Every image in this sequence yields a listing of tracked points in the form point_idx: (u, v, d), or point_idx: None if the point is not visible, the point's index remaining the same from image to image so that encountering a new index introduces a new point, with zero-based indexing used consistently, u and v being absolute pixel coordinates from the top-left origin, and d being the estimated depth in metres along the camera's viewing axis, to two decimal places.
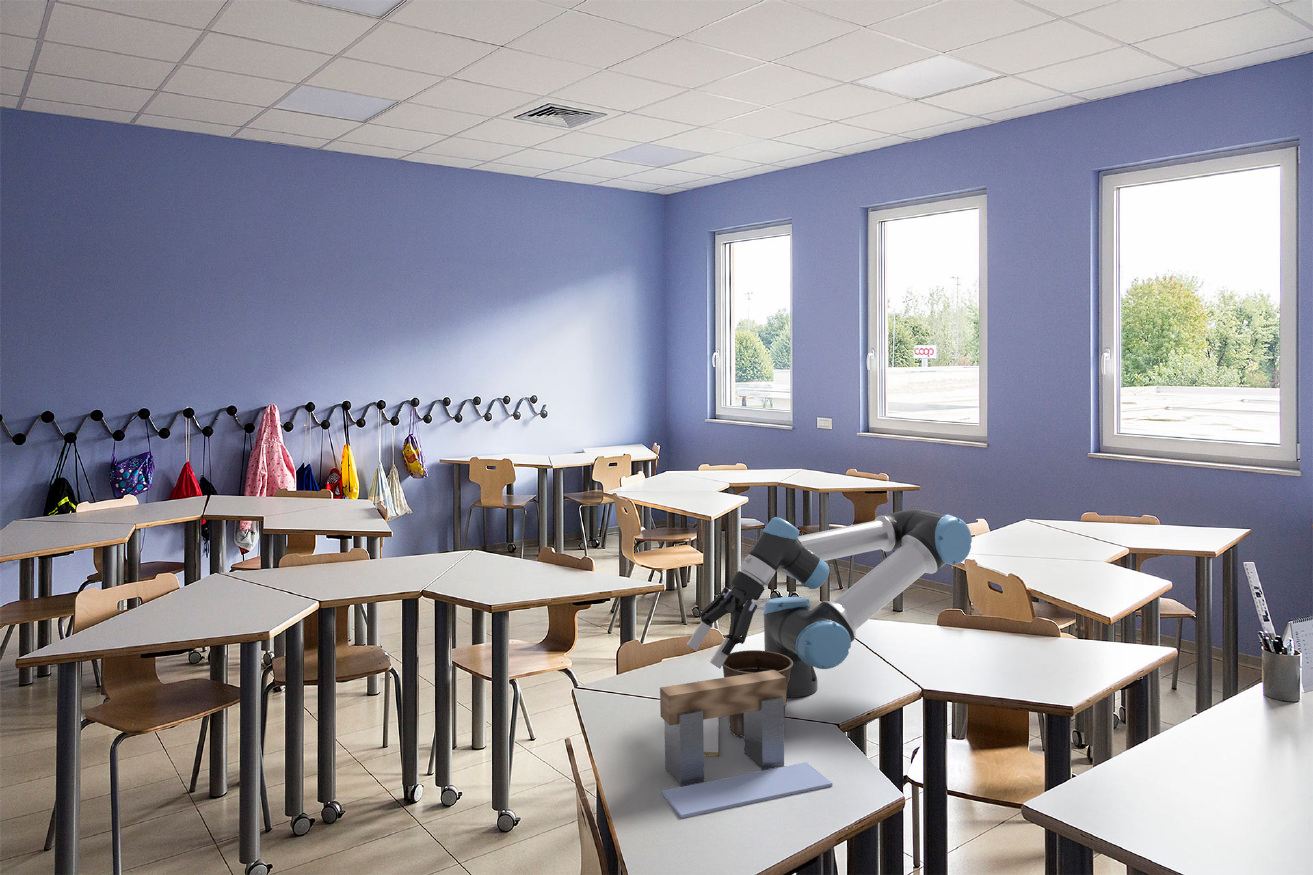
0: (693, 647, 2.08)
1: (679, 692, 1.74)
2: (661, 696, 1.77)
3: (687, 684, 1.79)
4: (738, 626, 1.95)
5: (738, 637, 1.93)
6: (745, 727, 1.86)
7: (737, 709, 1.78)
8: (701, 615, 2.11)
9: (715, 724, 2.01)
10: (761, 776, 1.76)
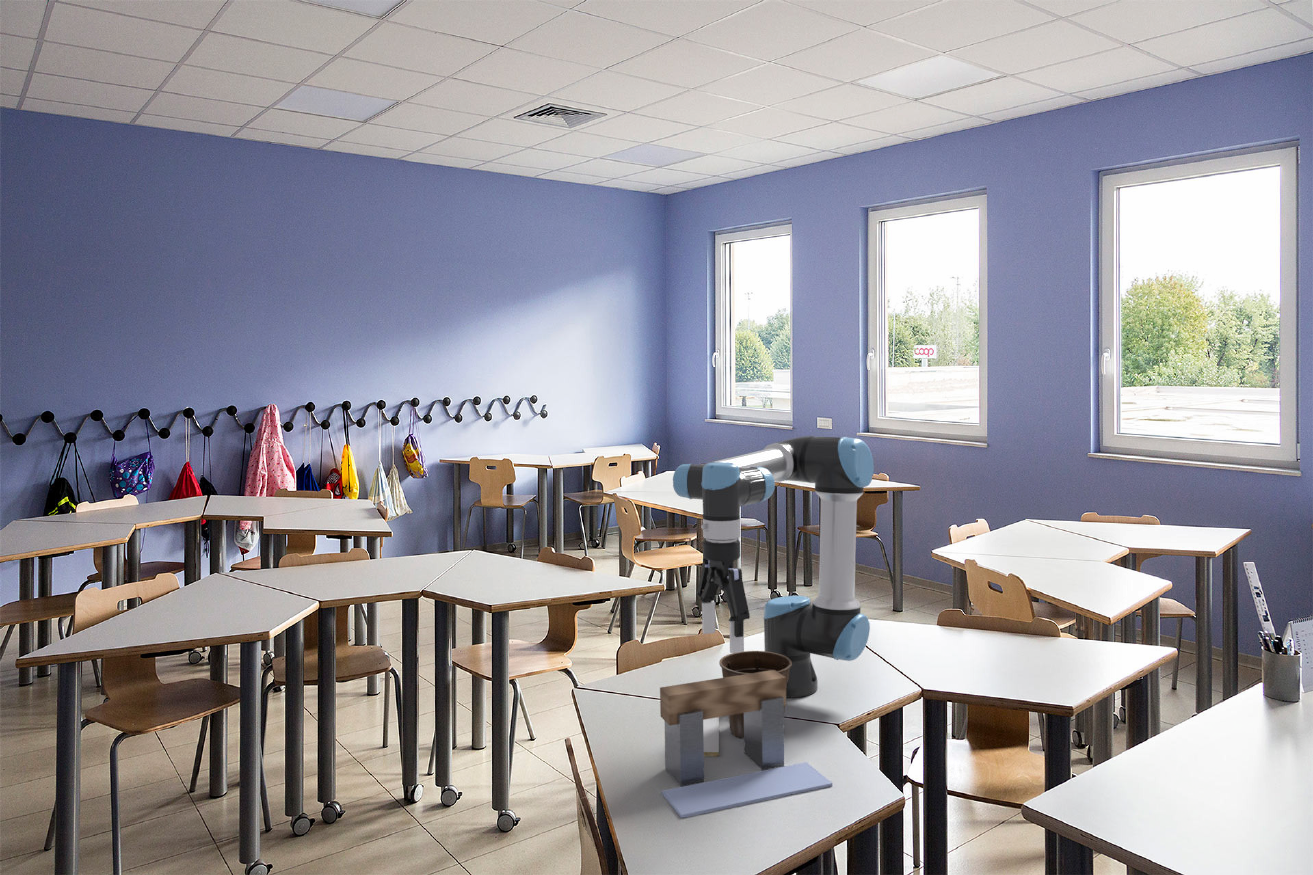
0: (710, 631, 1.85)
1: (679, 692, 1.74)
2: (661, 696, 1.77)
3: (687, 684, 1.79)
4: (734, 604, 1.70)
5: (741, 616, 1.69)
6: (745, 727, 1.86)
7: (737, 709, 1.78)
8: (699, 595, 1.86)
9: (716, 724, 2.00)
10: (761, 776, 1.76)
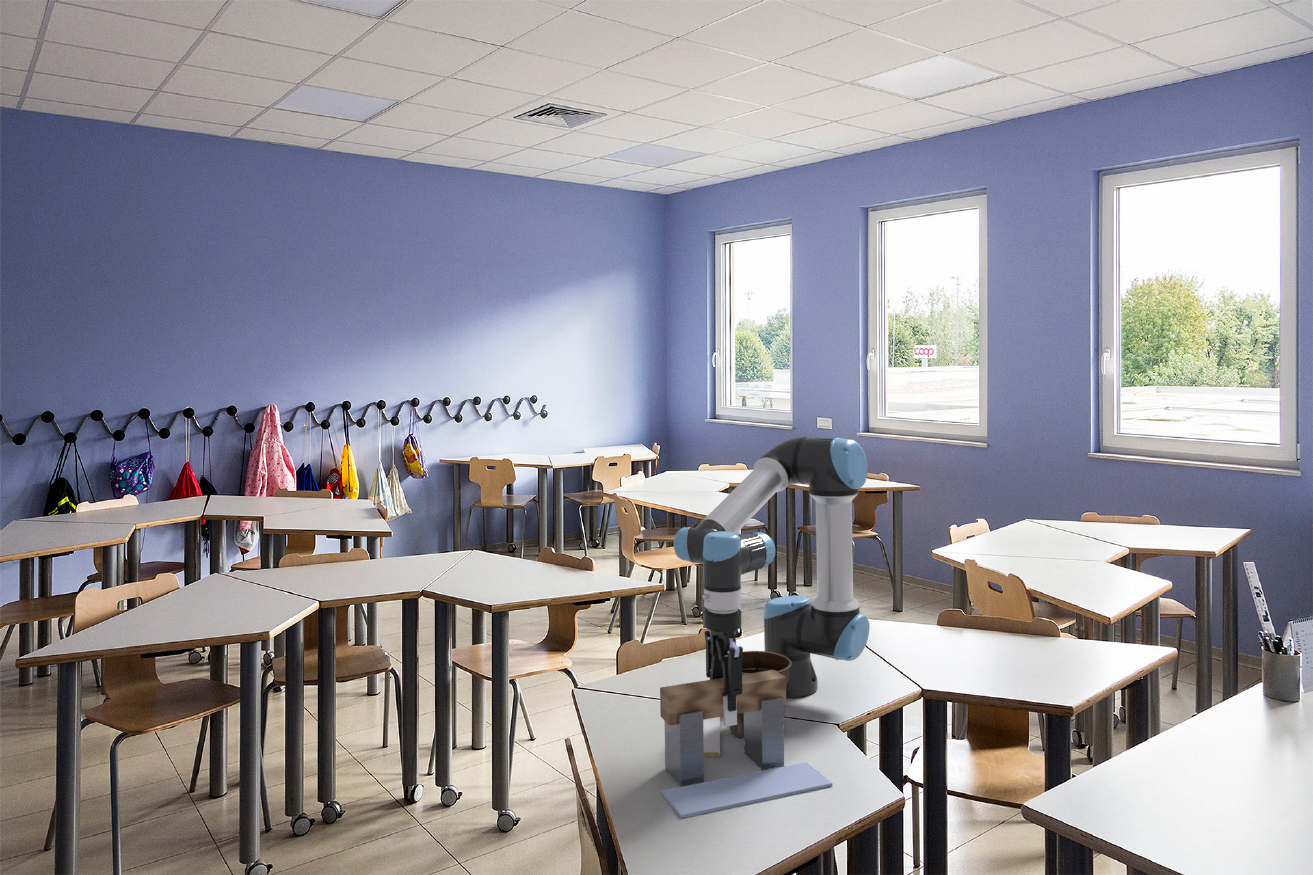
0: None
1: (679, 692, 1.74)
2: (661, 696, 1.77)
3: (687, 684, 1.79)
4: (730, 680, 1.74)
5: (733, 692, 1.74)
6: (745, 727, 1.86)
7: (737, 709, 1.78)
8: (708, 675, 1.84)
9: (717, 725, 2.00)
10: (761, 776, 1.76)
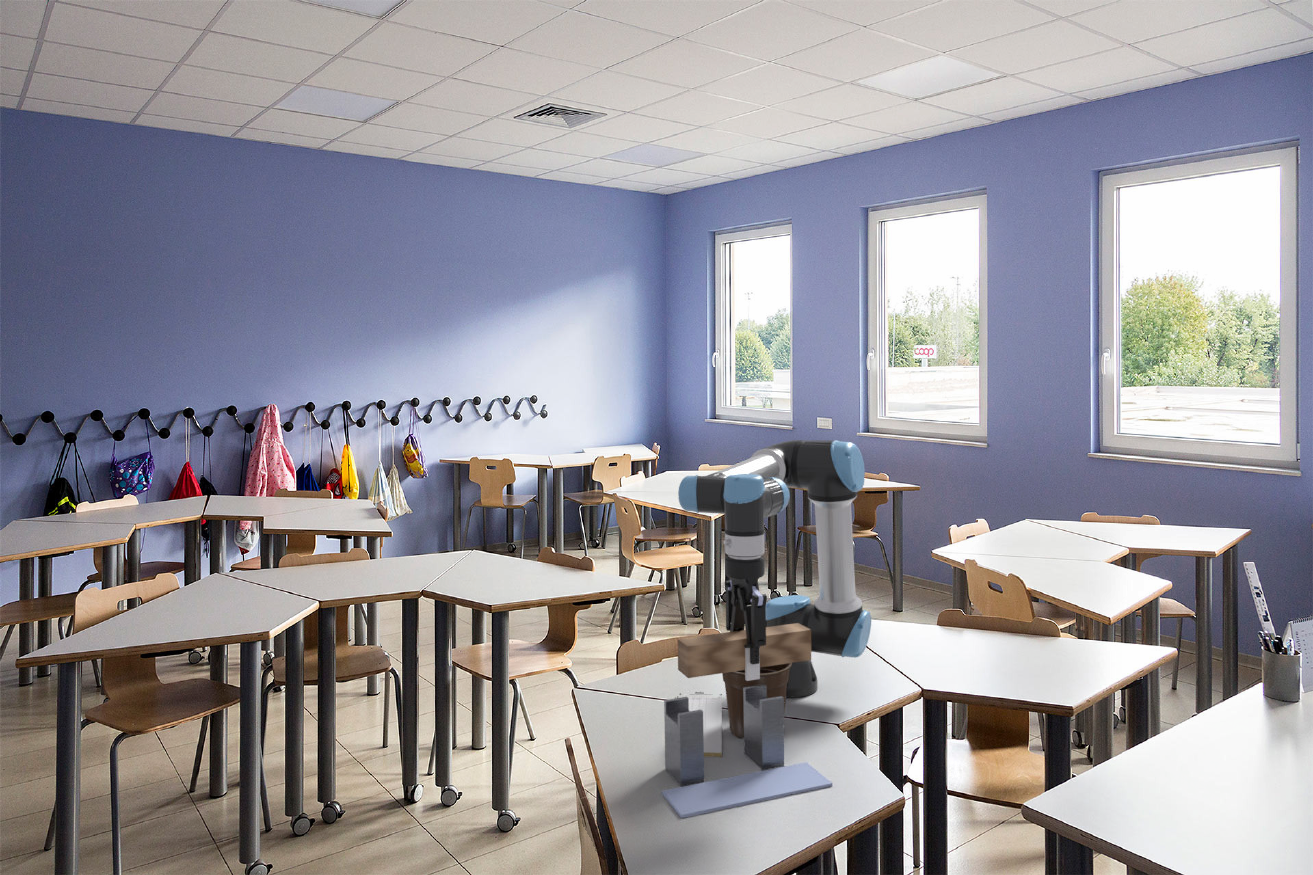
0: None
1: (699, 643, 1.63)
2: (678, 648, 1.66)
3: (706, 635, 1.68)
4: (753, 630, 1.63)
5: (757, 643, 1.63)
6: (745, 727, 1.86)
7: (760, 662, 1.67)
8: (728, 628, 1.73)
9: (719, 725, 2.00)
10: (761, 776, 1.76)
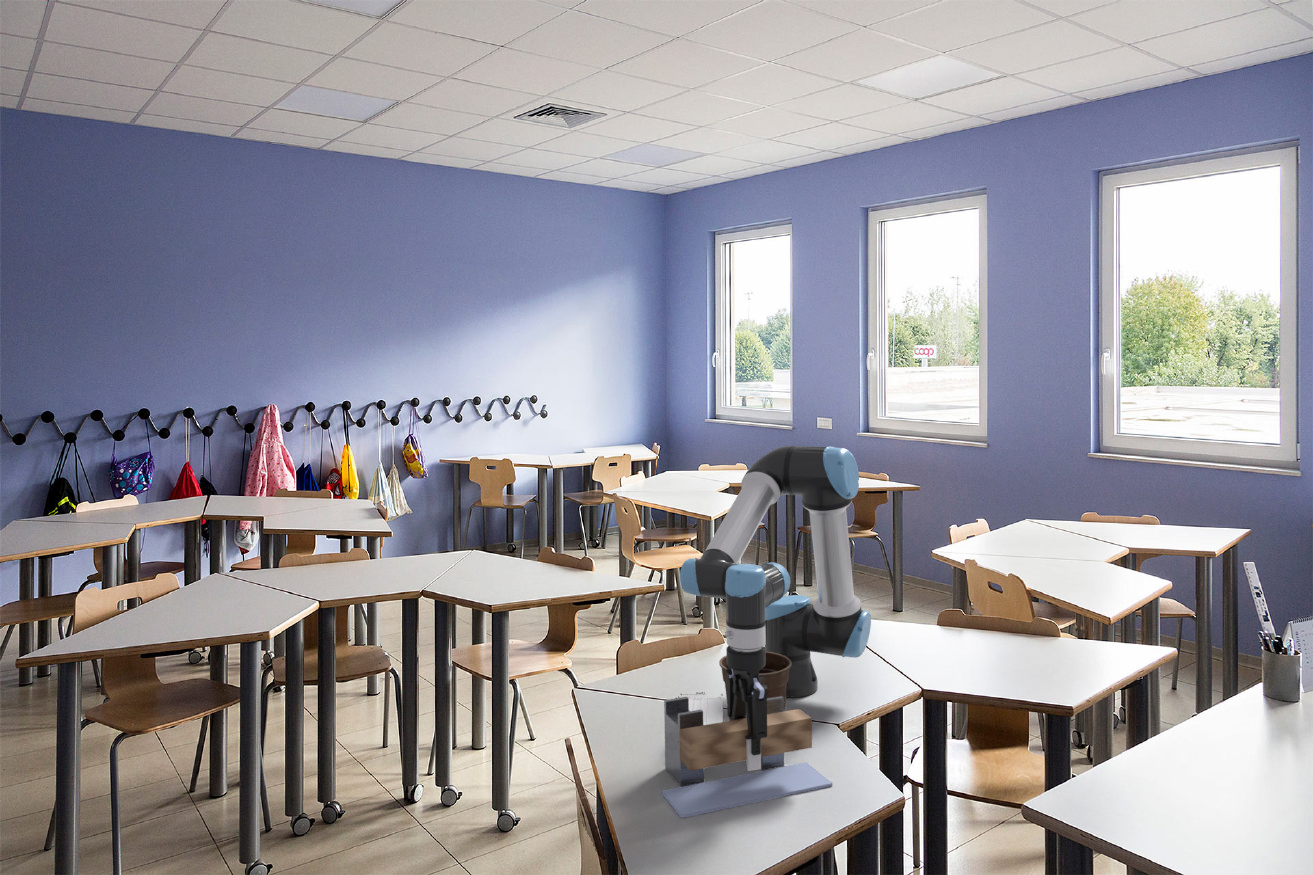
0: None
1: (700, 735, 1.65)
2: (680, 739, 1.68)
3: (708, 725, 1.70)
4: (754, 723, 1.64)
5: (758, 735, 1.64)
6: None
7: (761, 752, 1.69)
8: (730, 715, 1.74)
9: None
10: (761, 776, 1.76)
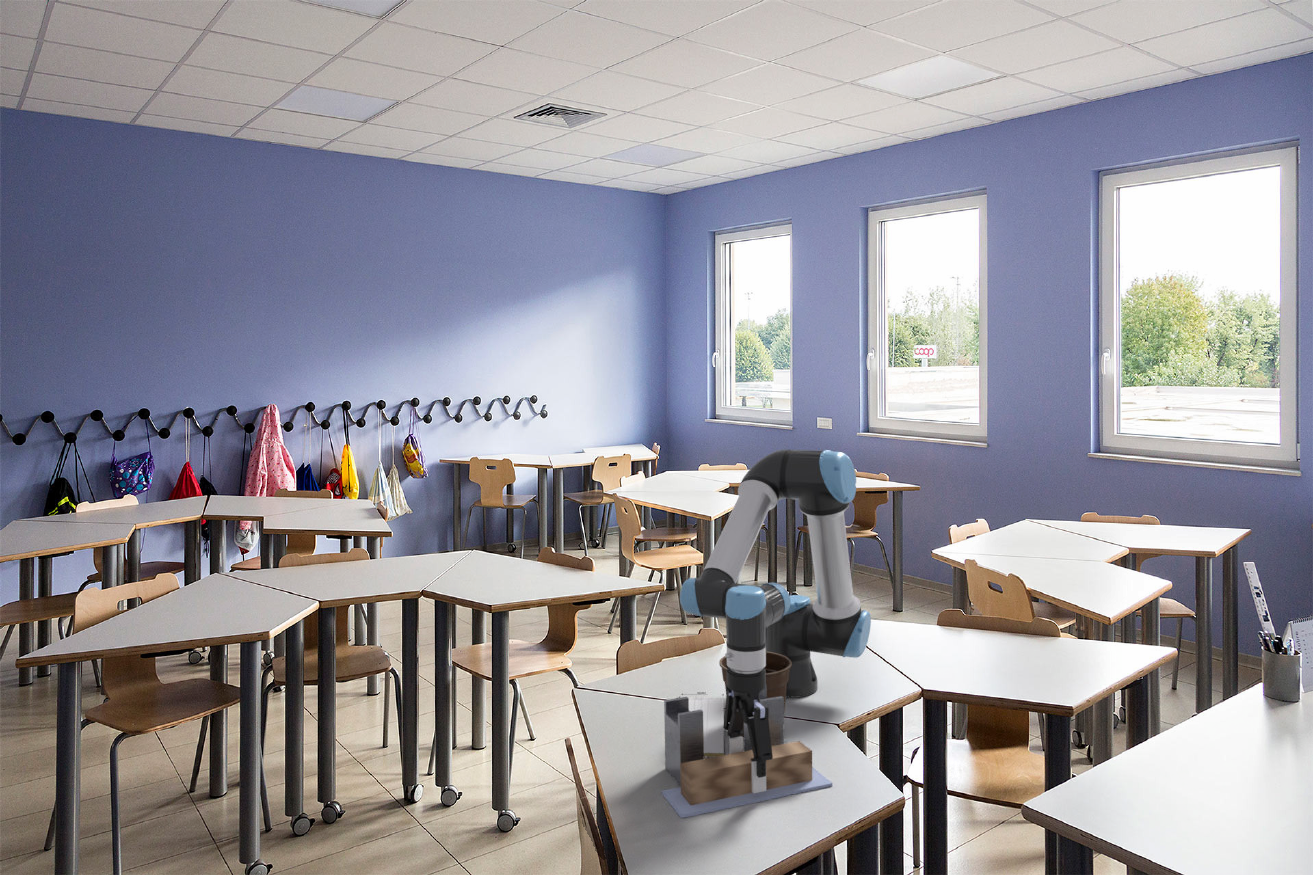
0: None
1: (701, 770, 1.65)
2: (681, 773, 1.68)
3: (709, 758, 1.70)
4: (758, 744, 1.63)
5: (763, 757, 1.63)
6: (745, 727, 1.86)
7: None
8: (726, 728, 1.77)
9: (721, 725, 2.00)
10: None
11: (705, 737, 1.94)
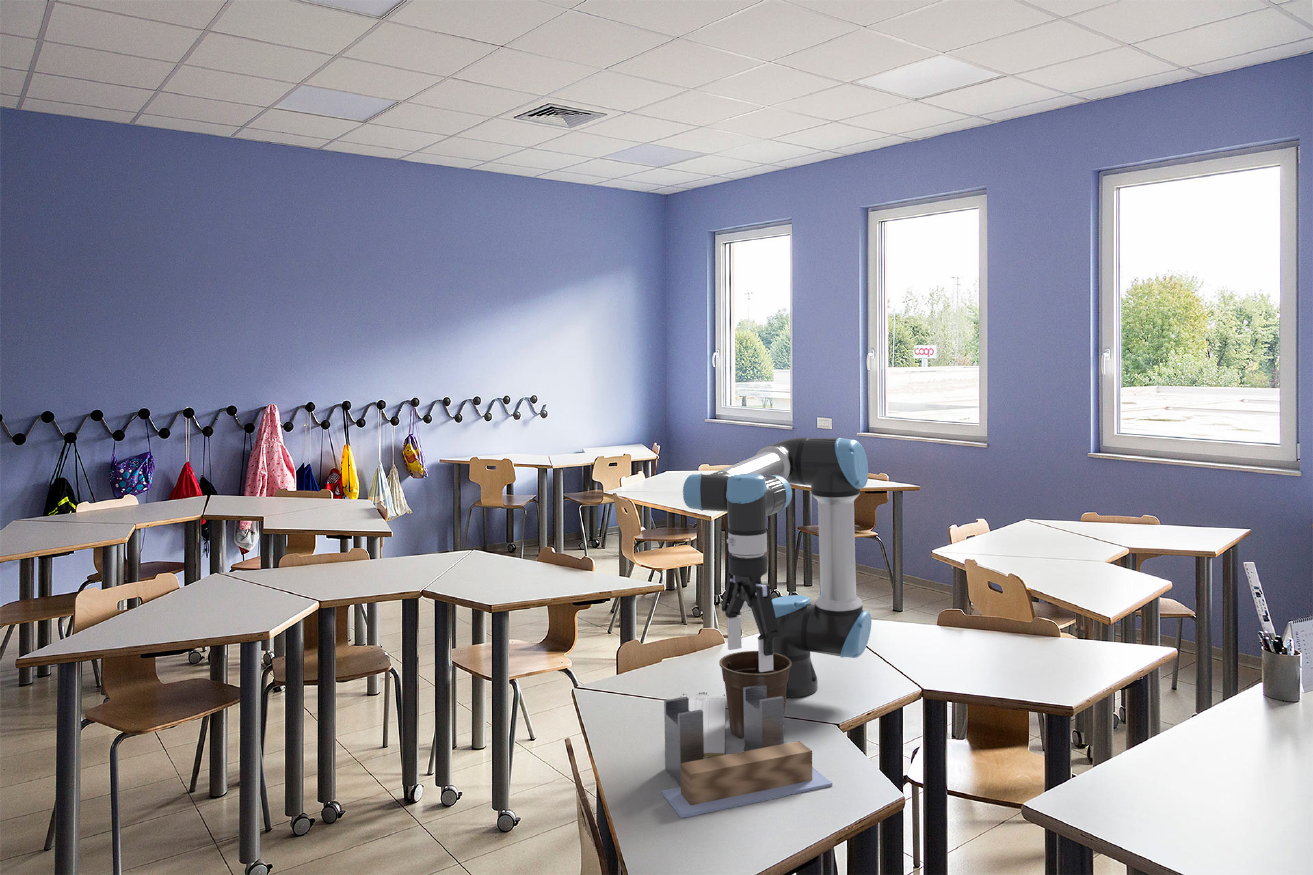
0: (736, 647, 1.79)
1: (701, 770, 1.65)
2: (681, 773, 1.68)
3: (709, 758, 1.70)
4: (763, 622, 1.64)
5: (770, 634, 1.63)
6: (745, 727, 1.86)
7: (762, 785, 1.70)
8: (724, 610, 1.80)
9: (722, 725, 2.00)
10: None
11: (706, 737, 1.94)
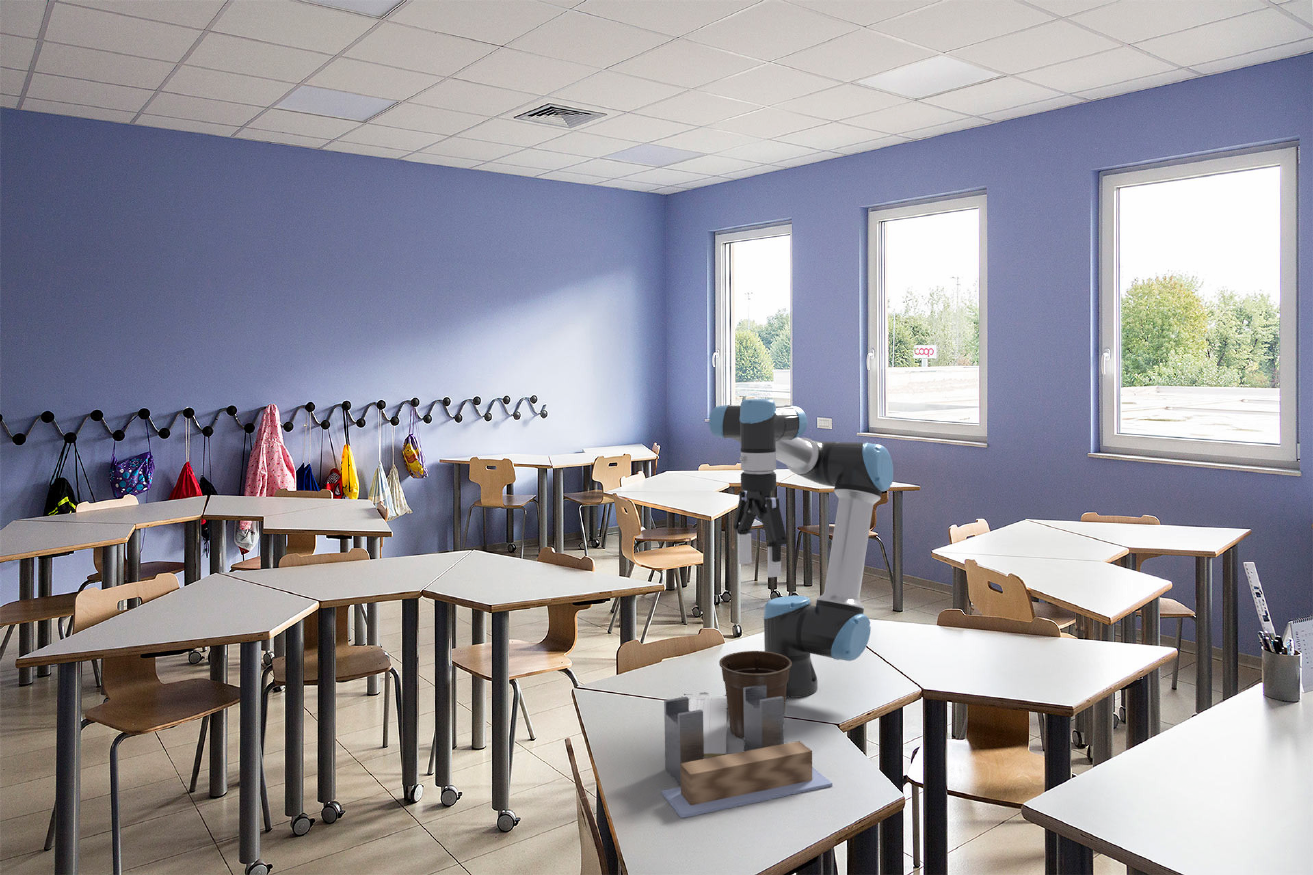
0: (747, 562, 1.95)
1: (701, 770, 1.65)
2: (681, 773, 1.68)
3: (709, 758, 1.70)
4: (772, 530, 1.80)
5: (779, 541, 1.79)
6: (745, 727, 1.86)
7: (762, 785, 1.70)
8: (735, 528, 1.96)
9: (723, 726, 2.00)
10: None
11: (707, 737, 1.94)
